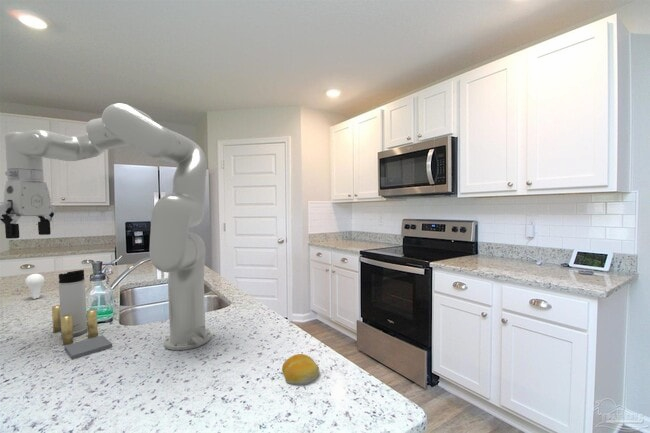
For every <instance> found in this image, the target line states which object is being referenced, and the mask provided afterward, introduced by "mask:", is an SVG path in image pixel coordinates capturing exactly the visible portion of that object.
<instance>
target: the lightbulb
mask: <svg viewBox="0 0 650 433" xmlns="http://www.w3.org/2000/svg"><path fill="white" fill-rule="evenodd" d="M24 283H25V285H26V287H27V288H28V290H29V292H30V294H31V298H32V299H33V300H36V299H35V298H38V299H39V298H41V290H42V287H43V285H44V283H45V277H44V276H43V274H41V273H32V274H29V275H28V276H27V277H25V280H24Z"/></svg>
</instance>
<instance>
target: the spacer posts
mask: <svg viewBox="0 0 650 433" xmlns="http://www.w3.org/2000/svg"><path fill="white" fill-rule="evenodd" d="M51 314H52V315H51V316H52V333H54V334H55V333H61V340H62V346H66V345H69V344H73V343H74V337H73V326H72V315H65V316H62V317H61V314H60V304H58V305H54V306H52V307H51ZM86 315H87V338H88V339H91V338H94V337H98V336H99V329H98V310H97V309H95V308H94V309H89V310H86ZM61 323H62V331H61Z"/></svg>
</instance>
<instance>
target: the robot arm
mask: <svg viewBox="0 0 650 433" xmlns="http://www.w3.org/2000/svg"><path fill="white" fill-rule="evenodd" d="M85 131H86V132H85V133H83V134H79V135H78V134H77V135H74V136H69V135H66V134H61V133H58V132H54V131H53V132H52V131H49V130H44V129H32V130H28V131H24V132H23V131H10V132H6V134H5V136H4V139H5V140H4V142H5V158H6V160H5V161H6V170H5V172H4V173H5V176H7V180H6V181H5V185H4V192H3V203H2V204H1V203H0V221H1V224H3V225H4V229H5V232H4V233H5V239H13V240H15V239H20V225H19V223H17V222H18V220H20V218H21V217H36V218H37V219H38V220H39V221H38V222H37V230H38V235H40V236H45V235H47V236H49V235H51V222H52V220H53V218H54V215H55V211H56V209H57V207H56V206H55V205H52V202H51V196H50V192H49V191H50V190H49V187H48V185H47V182H45V179H44V161H43V160H44V159H53V160H59V161H63V162H77V161H83V160H87V159H91V158H96V157H98V156H101V155H102V154H103V153H105V152H106V151H107V150H111V149H116V148H121V147H125V146H130V147H132V148H134V149H136V150H137V151H139V152H140V153H143V154H144V155H145V156H148V157H150V158H152V159H155V160H159V161H162V162H169V163H172V164H174V165H176V170H175V172H174V175H173V179H172V192H171V193H169V194H167V195H164V196H162V197H161V198H159V199H158V200H157V201H156V202H155V204H154V206H153V208H152V211H151V218H150V219H151V220H150V233H149V257H150V262H151V263H152V266H154V268H155V269H157V270H158V271H160V272H162V273H168V280H167V287H168V289H167V290H168V291H167V292H168V317H169V318H168V319H169V335H168V336H167V337H165V339H164V340H163V345H164V347H165V348H166V349H168V350H172V351H186V350H191V349H194V348H195V349H196V348H198V347H201V346H203V345H205V344H207V343H208V342H209V341H210V340H211V339H212V332H211V331H210V330H209V329H207V328H206V327H207V326H206V306H205V304H206V303H205V301H206V300H205V299H206V298H205V264H206V263H205V262H206V253H207V252H206V251H207V250H206V245H205V241H204V240H203V238H202V237H201V236H200V235H198V234H197V233H195V232H190V230H189V229H190V228H193V227H194V228H195V227H196V226H198V225H199V224H201V223H202V221H203V219H204V216H205V215H204V214H205V199H206V198H205V197H206V182H207V181H206V178H207V164H208V163H207V158H206V154H205V152H204V151H203V149H202V147H200V145H199V144H198V143H196V142H195V141H193V140H192V139H190V138H188V137H186V136H185V135H183V134H181V133H178V132H176V131H173V130H172V129H169V128H167V127H165V126H162V125H161V124H159V123H157V122H156V121H154V119H153V118H152V117H151V116H150V115H149V114H147V113H145V112H144V111H142V110H139V109H138V108H137V107H134V106H131V105H130V104H127V103H122V102H117V103H112V104H110V105H108V106H107V107H105V109H104V110H103V112H102V114H101V117H99V118H93V119H90V120H89V121H88V122H87V123H86V126H85Z"/></svg>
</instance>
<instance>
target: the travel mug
mask: <svg viewBox="0 0 650 433" xmlns="http://www.w3.org/2000/svg"><path fill="white" fill-rule="evenodd" d="M84 270H85V269H78V270H72V271H67V272H66V273H65V272H64V273H59V274H58V293H59V305H60V314H61V317H62V316H65V315H72V326H73V338H75V337H79V336H82V335H84V334H86V333H88V324H87V301H86V300H87V299H86V283H85V280H86V279H85V271H84ZM61 332H62V323H61Z"/></svg>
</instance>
